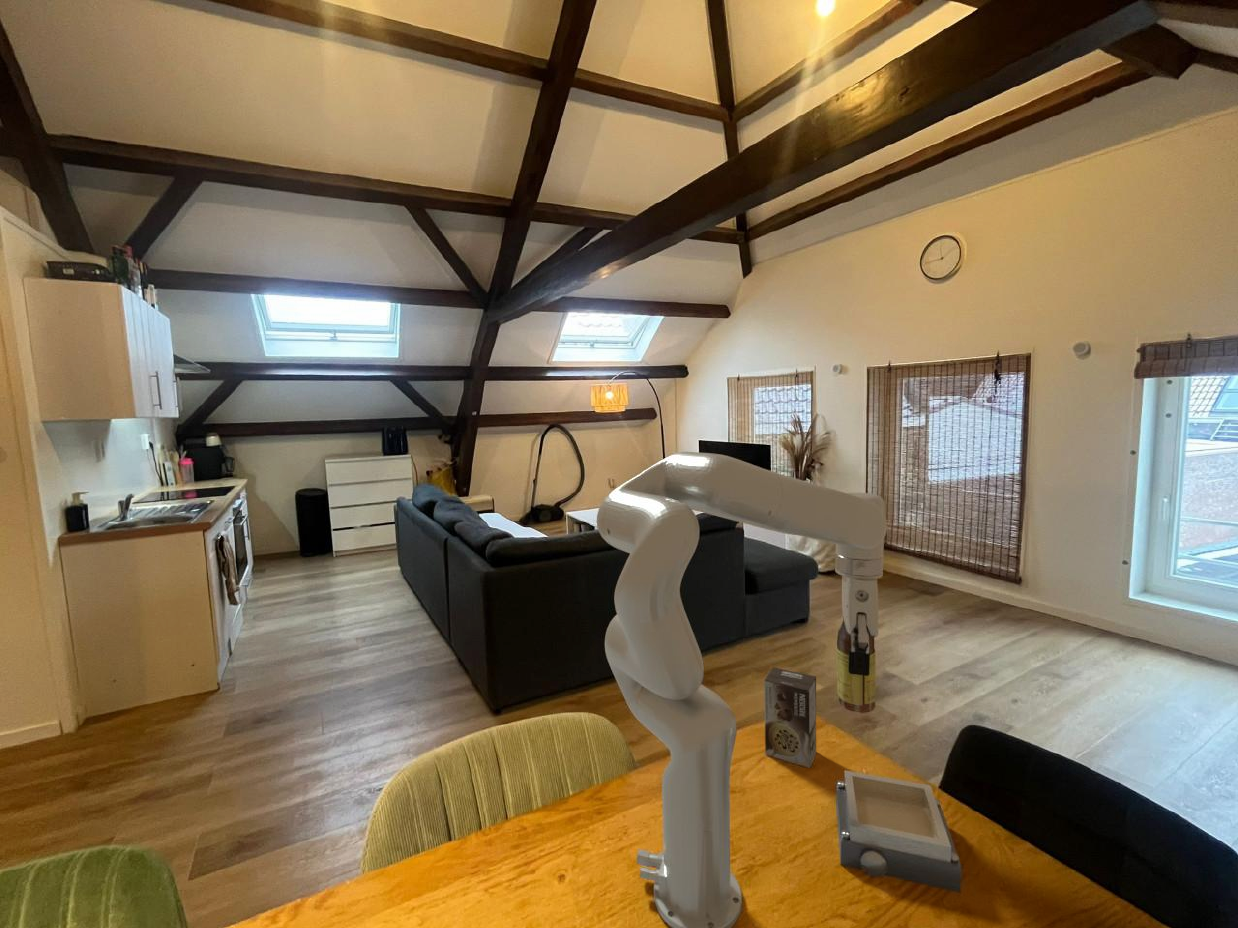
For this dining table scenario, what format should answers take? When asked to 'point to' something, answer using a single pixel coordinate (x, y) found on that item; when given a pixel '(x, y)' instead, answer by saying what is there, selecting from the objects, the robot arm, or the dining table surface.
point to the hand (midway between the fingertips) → (856, 663)
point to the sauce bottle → (854, 676)
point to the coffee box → (790, 716)
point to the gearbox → (895, 831)
